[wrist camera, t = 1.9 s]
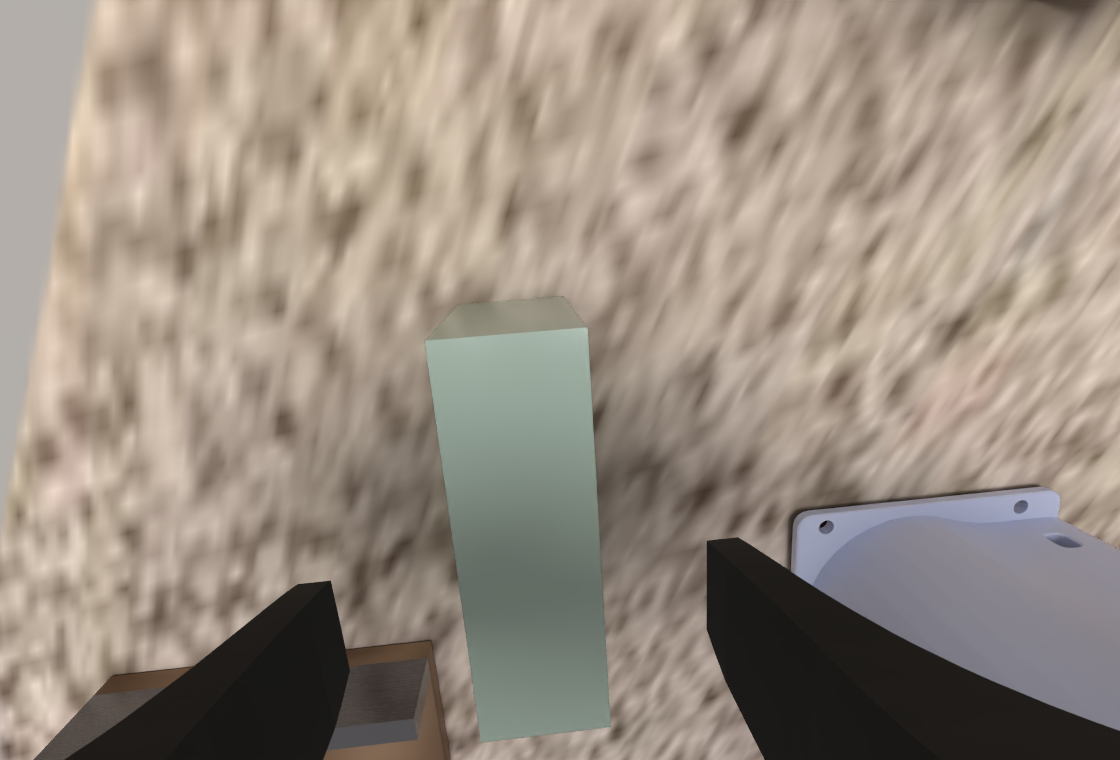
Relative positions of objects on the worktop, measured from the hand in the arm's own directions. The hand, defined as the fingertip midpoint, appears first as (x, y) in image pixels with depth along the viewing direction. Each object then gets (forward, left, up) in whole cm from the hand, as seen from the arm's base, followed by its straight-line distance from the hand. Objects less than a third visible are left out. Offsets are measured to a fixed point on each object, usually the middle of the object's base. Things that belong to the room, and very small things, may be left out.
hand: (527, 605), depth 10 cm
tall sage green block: (0, 0, -8) cm, 8 cm away
